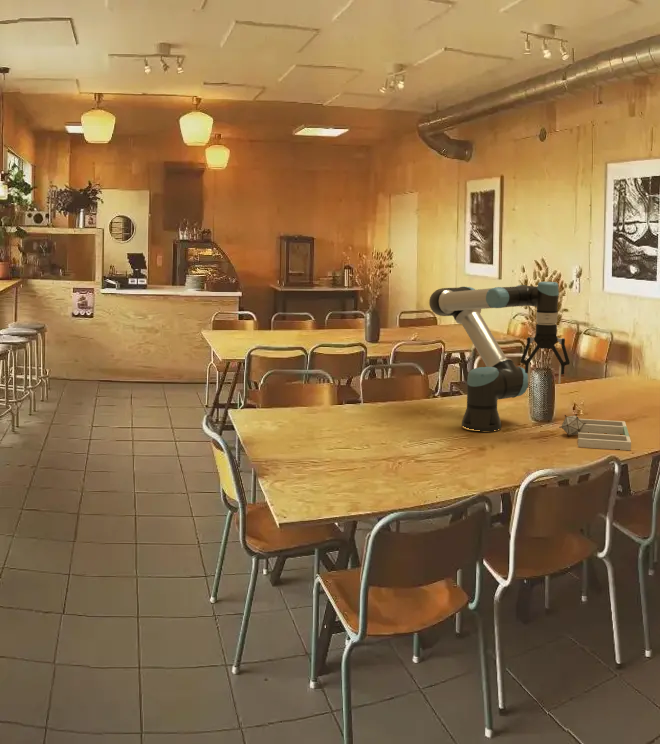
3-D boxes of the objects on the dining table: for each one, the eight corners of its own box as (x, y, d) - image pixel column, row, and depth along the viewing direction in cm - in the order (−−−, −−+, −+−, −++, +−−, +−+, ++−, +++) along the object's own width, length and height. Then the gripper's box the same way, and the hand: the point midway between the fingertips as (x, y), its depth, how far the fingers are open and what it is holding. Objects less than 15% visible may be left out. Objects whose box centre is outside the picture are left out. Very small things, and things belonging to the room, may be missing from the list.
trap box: (578, 446, 292) (578, 438, 291) (576, 426, 322) (577, 418, 322) (630, 450, 287) (631, 442, 287) (624, 428, 317) (625, 421, 317)
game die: (576, 446, 307) (587, 429, 300) (554, 437, 308) (565, 420, 301) (579, 430, 313) (590, 413, 306) (558, 421, 314) (568, 404, 307)
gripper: (514, 324, 303) (512, 382, 307) (579, 325, 297) (576, 385, 301) (515, 321, 310) (513, 379, 314) (578, 323, 304) (575, 381, 308)
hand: (544, 382), depth 307 cm, fingers open, 10 cm apart
